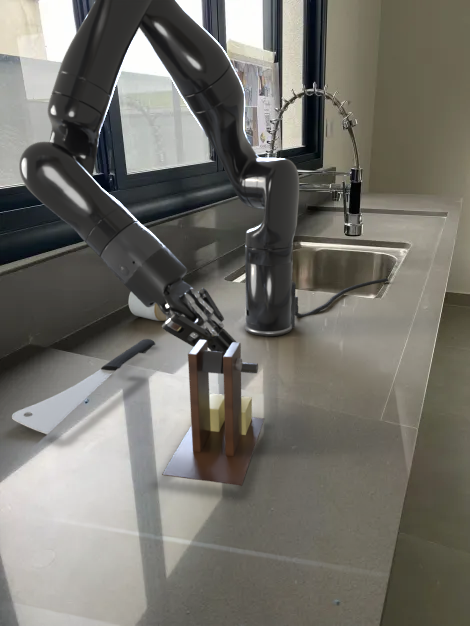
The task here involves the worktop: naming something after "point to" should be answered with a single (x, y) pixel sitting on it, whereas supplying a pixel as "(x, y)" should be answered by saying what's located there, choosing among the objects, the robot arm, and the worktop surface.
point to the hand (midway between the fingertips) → (233, 356)
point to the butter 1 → (216, 411)
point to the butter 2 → (246, 413)
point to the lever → (215, 363)
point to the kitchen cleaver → (73, 394)
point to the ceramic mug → (145, 309)
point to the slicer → (200, 442)
